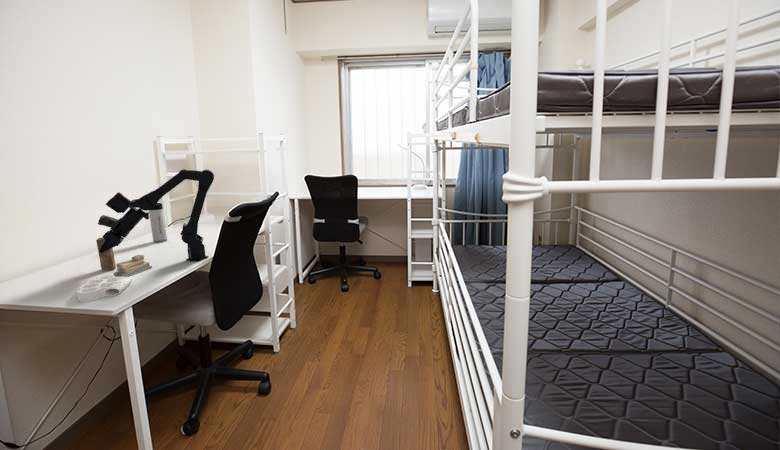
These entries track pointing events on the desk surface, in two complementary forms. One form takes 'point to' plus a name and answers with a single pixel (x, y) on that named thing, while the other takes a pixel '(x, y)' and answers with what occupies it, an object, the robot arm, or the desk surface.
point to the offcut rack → (132, 266)
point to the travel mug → (158, 223)
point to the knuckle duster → (102, 287)
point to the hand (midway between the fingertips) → (101, 250)
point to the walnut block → (106, 257)
